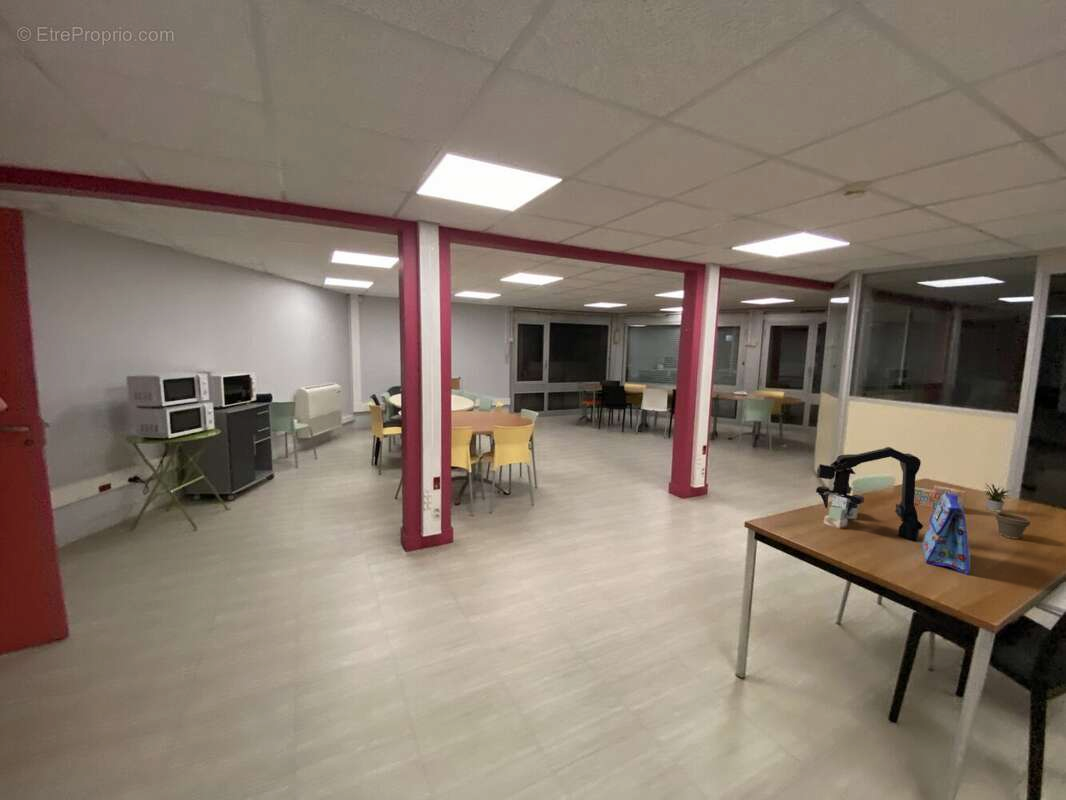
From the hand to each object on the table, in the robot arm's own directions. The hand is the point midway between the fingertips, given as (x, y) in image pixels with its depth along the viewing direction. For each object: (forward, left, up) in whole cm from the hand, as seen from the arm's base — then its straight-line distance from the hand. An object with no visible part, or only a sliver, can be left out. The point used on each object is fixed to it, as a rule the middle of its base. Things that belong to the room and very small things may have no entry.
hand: (837, 511), depth 211 cm
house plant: (-40, -112, -7) cm, 119 cm away
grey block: (+2, -10, -7) cm, 13 cm away
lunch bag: (-40, 0, -7) cm, 41 cm away
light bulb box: (+3, -20, -7) cm, 22 cm away
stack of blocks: (-21, -86, -8) cm, 89 cm away
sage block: (0, 0, -3) cm, 3 cm away
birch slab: (0, 0, -7) cm, 7 cm away
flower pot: (-52, -65, -7) cm, 84 cm away
